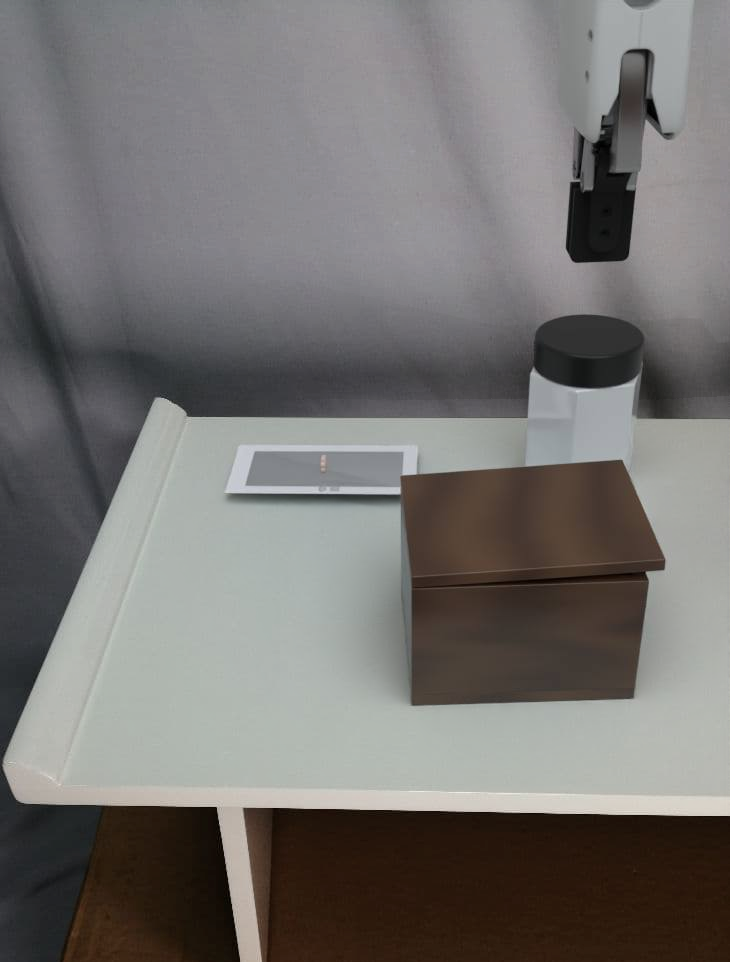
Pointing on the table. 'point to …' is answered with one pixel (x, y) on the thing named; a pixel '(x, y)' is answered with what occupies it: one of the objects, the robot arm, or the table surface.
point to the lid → (526, 524)
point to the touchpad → (321, 469)
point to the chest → (523, 638)
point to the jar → (584, 390)
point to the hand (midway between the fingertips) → (596, 256)
